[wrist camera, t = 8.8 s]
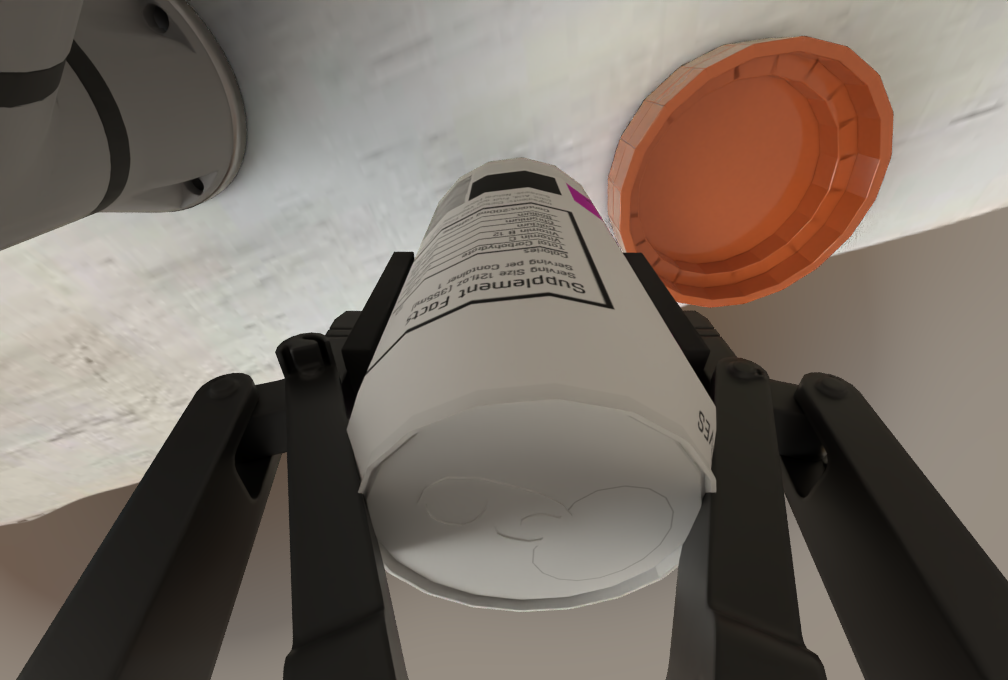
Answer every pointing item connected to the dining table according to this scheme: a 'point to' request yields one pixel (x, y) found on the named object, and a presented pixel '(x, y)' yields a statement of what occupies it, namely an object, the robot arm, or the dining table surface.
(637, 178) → the bowl
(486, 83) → the dining table surface
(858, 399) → the robot arm
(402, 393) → the supplement can
